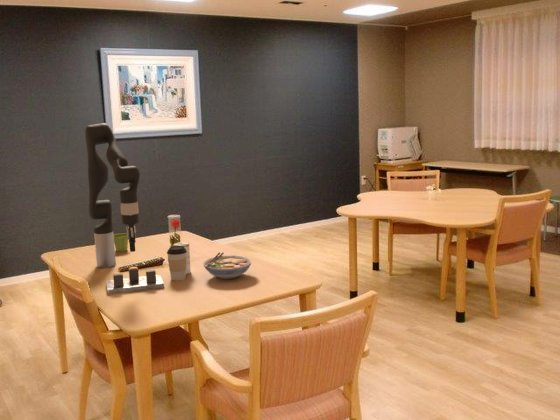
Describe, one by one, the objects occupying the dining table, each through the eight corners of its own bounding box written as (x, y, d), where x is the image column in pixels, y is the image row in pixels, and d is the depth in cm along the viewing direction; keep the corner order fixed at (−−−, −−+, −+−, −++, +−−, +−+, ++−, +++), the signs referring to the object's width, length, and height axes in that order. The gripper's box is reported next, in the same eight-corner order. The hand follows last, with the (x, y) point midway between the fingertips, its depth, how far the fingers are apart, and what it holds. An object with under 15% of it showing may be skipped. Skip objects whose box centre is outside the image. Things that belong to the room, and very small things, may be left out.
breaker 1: (113, 285, 259) (113, 274, 258) (123, 284, 260) (122, 273, 259) (114, 286, 256) (113, 275, 256) (123, 285, 258) (122, 274, 257)
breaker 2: (146, 281, 263) (145, 270, 262) (155, 280, 264) (154, 269, 263) (147, 282, 261) (146, 272, 260) (156, 281, 262) (155, 271, 261)
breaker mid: (129, 279, 266) (128, 267, 265) (138, 278, 268) (137, 266, 267) (129, 280, 264) (128, 268, 263) (138, 279, 265) (138, 267, 264)
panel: (106, 285, 267) (106, 280, 266) (160, 278, 274) (160, 274, 273) (107, 294, 253) (107, 290, 253) (164, 287, 261) (163, 283, 260)
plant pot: (112, 249, 331) (111, 234, 329) (129, 247, 333) (128, 232, 332) (113, 253, 322) (111, 237, 320) (131, 251, 325) (129, 236, 323)
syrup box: (174, 274, 280) (172, 244, 278) (181, 270, 286) (179, 241, 283) (183, 275, 278) (182, 245, 275) (191, 272, 283) (189, 242, 280)
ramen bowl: (245, 286, 260) (244, 268, 258) (195, 284, 264) (194, 266, 263) (258, 270, 284) (257, 253, 282) (212, 268, 288) (212, 252, 287)
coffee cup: (169, 282, 269) (167, 250, 266) (167, 276, 277) (165, 245, 274) (189, 279, 271) (187, 248, 268) (187, 274, 280) (185, 243, 277)
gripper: (120, 210, 260) (123, 248, 264) (121, 216, 248) (124, 256, 251) (137, 209, 263) (140, 246, 266) (140, 214, 250) (142, 254, 254)
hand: (132, 251), depth 259 cm, fingers closed
